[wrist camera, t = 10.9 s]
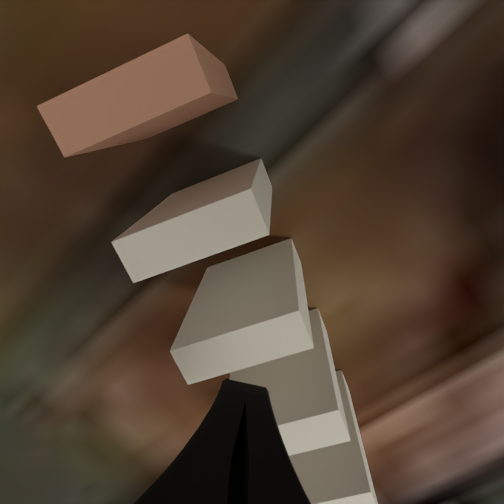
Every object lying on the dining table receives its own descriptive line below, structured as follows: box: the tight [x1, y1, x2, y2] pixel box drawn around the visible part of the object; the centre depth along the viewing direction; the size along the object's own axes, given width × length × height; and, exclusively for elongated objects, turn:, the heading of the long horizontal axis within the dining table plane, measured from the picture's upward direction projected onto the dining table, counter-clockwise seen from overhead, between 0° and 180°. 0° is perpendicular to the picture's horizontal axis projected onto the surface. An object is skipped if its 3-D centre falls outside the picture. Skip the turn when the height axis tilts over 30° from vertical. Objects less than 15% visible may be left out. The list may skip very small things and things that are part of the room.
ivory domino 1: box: [111, 158, 272, 283], centre depth 16 cm, size 2×5×8 cm, turn 112°
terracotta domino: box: [37, 34, 238, 158], centre depth 15 cm, size 2×5×8 cm, turn 112°
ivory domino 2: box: [170, 238, 314, 385], centre depth 18 cm, size 2×5×8 cm, turn 112°
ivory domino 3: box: [229, 308, 351, 456], centre depth 19 cm, size 2×5×8 cm, turn 112°
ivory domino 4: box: [289, 370, 378, 504], centre depth 20 cm, size 2×5×8 cm, turn 112°
